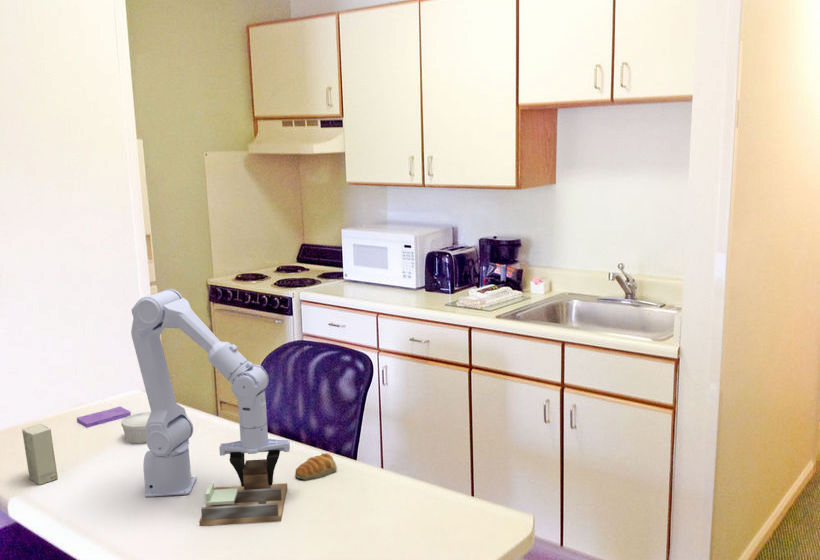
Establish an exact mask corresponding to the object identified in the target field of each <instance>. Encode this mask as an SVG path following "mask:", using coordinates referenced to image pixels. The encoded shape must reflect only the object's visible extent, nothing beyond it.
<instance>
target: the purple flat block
mask: <svg viewBox="0 0 820 560" xmlns="http://www.w3.org/2000/svg"><path fill="white" fill-rule="evenodd" d="M130 415H132V414H131V411H130V410H129V409H126V408H124V407H123V406H115V407H112V408H110V409H106V410H102V411H96V412H93V413H90V414H86V415H81V416H77V417H76V422H77V423H78V424H80V425H82V426H84V427H85V428H88V429H89V428H90V427H94V426H99V425H102V424H103V425H104V424H107V423H109V422H110V423H111V422H113V421H114V422H115V421H117V420H121V419H122V420H123V419H124V418H126V417H127V416H130Z"/></svg>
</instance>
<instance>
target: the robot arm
mask: <svg viewBox="0 0 820 560" xmlns="http://www.w3.org/2000/svg"><path fill="white" fill-rule="evenodd" d="M192 309H193V308H192V307H191V305H190V302H189V300H187V299H186V298H185V297H183V296H182V295H181V293H180V291H179V292H178V291H177V290H176V289H174V288H166V289H163V290H161V291H160V292H157V293H154V294H151V295H148V296H144V297H141V298H139V300H137V302H136V303H135V304H134V305H133V307H132V308H131V314H132V319H133V320H132V325H131V331H130V334H131V339H132V342H133V346H134V349H135V351H134V352H135V355H136V358H137V361H138V366H139V369H140V373H141V377H142V381H143V385H144V389H145V393H146V395H147V396H146V397H147V401H148V404H149V408H150V412H151V414H150V416H149V418H148V421H147V423H146V428H147V437H146V443H145V444H146V446H147V448H148V451H146V452H145V454H144V458H143V476H144V488H145V494H144V497H147V498H149V497H166V496H181V495H182V496H184V495H189V494H190V493H191V492H192V489H193V487H194V486H195V483H196V481H197V477H196V476H192V474H191V461H190V450H189V449H190V448H189V445H190V439H191V437H192V436H193V434H194V425H193V422H192V421H191V419H190V418H189V416H188V415H187V412H186V409H185V408H184V407H183V406H181V405H180V404H178V403H177V399H176V396H175V395H176V394H175V392H174V387H173V384H172V383H173V382H172V381H171V375H170V372H169V368H168V365H167V364H168V363H167V361H166V356H165V352H164V349H163V345H162V340H161V337H160V336H161V334H162V333H163V331H164V330H165V329H179V330H181V332H183V333H184V334H185V335H187V336H188V337H189V338H190V339H191V340H193V341H194V343H196V344H197V345H198V346H200V347H201V348H202V349H203V350H204V351H205V352H206V353H207V354H208V362H209V364H211V365H212V366H213V367H214V368H215V369H216V370H217V371H218V372H219V373H220V374H221V375H222V376H223V377H224V378H225V379H226V380H227V381H228V382H230V384H232V385H231V386H230V389H231V392H232V393H233V395H234V396H235V398H236V401H237V406H238V407H237V408H238V422H239V435H240V436H239V437H240V440H237V441H231V442H224V443H220V446H219V448H218V449H219V456H221V457H222V456H226V455H229V459H228V460H229V462H230V464H231V466H232V467H233V468H234V470H235V472H236V474H237V476H238V479H239V482H240V486H242V487H244V480H243V468H244V465H245V462H246V461H245V454H248V455H255V454H258V453H267V454H266V459H267V464H268V483H269V485H272V484H274V473H275V469H276V466H277V464H278V460H279V457H280V453H281V452H284V453H289V452H290V449H291V447H290V440H289V439H276V438H274V439H272V438H269V435H268V434H269V433H268V418H267V417H268V416H267V402H266V391H265V389H266V388H267V387H268V384H269V382H270V380H269V374H268V373H267V371H266V369H265V368H264V367H263V366H262V365H260V364H254V363H253V362H252V361H249V360H248V359H247V358H246V357H245V356H244V355H243V354H242V353H241V352H240V351H239V350H238V346H237V345H235V344H234V343H230V342H229V341H220V339H219V338H218V337H217V336H216V335H215V334H214V333H213V332H212V331H211V329H210V328H209V327H208V326H207V325H206V324H205V323H204V322H203V321H202V320H201V319H200V318H199V316H198V315H197V314H196V313H195V311H193V310H192Z"/></svg>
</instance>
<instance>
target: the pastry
mask: <svg viewBox="0 0 820 560" xmlns="http://www.w3.org/2000/svg"><path fill="white" fill-rule="evenodd" d="M337 467H338V466H337V464H336V462H335V460H334V458H333V456H332V455H331V454H330V453H329V452H328V453H321V454H320V455H316V456H311V457H309V458H308V459H307V460H306V461H304V462H303V463H301V464H300V465H299V466H297V468H295V473H294V477H296V478H297V479H301V480H304V481H305V480H307V481H308V480H311V479H313V480H314V479H320V478H322V477H325V476H328V475H331V474H333V473H335V472H336V470H337V469H338V468H337Z"/></svg>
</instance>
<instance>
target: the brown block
mask: <svg viewBox="0 0 820 560" xmlns="http://www.w3.org/2000/svg"><path fill="white" fill-rule="evenodd" d="M244 462H245V465H244V468H243V480H244V490H252V489H269V488H270V487H271V485H269V483H268V464H267V458H266V459H249V460H247V459H246V460H245V461H244Z"/></svg>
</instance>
